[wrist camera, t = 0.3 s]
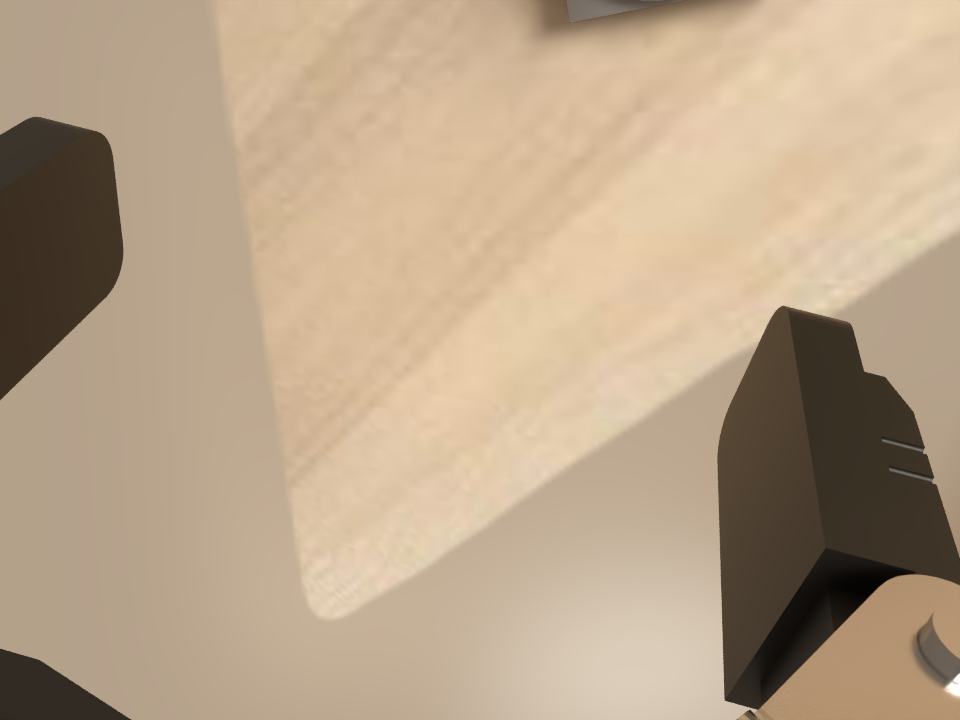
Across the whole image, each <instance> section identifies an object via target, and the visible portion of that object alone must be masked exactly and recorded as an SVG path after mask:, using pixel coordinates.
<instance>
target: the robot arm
mask: <svg viewBox="0 0 960 720" xmlns="http://www.w3.org/2000/svg"><path fill="white" fill-rule="evenodd" d="M122 261H123V240H122V233H121V224H120V215H119V206H118V197H117V189H116V179H115V171H114V162H113V155H112V150H111V147H110V144H109V142H108V140H107V139H106V137H105V136H104V135H102V134H101V133H99V132H97V131H93V130H89V129H85V128H81V127H76V126H72V125H69V124H65V123H61V122H57V121H53V120H49V119H45V118H41V117H32V118H29V119H27V120H25V121H23V122H22V123H20V124H18V125H17V126H15V127H13V128H11V129H10V130H8V131H6V132H5V133H3V134H1V135H0V400H1V399H2V398H3V397H4V396H5V395H6V394H7V393H8V392H9V391H10V390H11V389H12V388H13V387H14V386H15V385H16V384H17V383H18V382H19V381H20V380H21V379H22V378H23V377H24V376H25V375H26V374H28V373H29V372H30V371H31V370H32V368H33V367H35V366H36V365H37V364H38V363H39V362H40V361H41V360H42V359H43V358H44V357H45V356H46V355H47V354H48V353H49V352H50V351H51V350H52V349H53V348H54V347H55V346H56V345H57V344H58V343H59V342H60V341H61V340H62V339H63V338H64V337H65V336H66V335H68V334H69V333H70V332H71V331H72V330H73V329H74V328H75V327H76V326H77V325H78V324H79V323H80V322H81V321H82V320H83V319H84V318H85V317H86V316H87V315H88V314H89V313H90V312H91V311H92V310H93V309H94V308H95V307H96V306H97V305H98V304H99V303H100V302H101V301H103V299H104V298H106V297H107V295H108V294H109V293H110V292H111V290H112V289H113V287H114V285H115V283H116V281H117V279H118V276H119V273H120V270H121V266H122ZM924 448H925V447H924V444H923V441H922V437H921V434H920V431H919V428H918V425H917V422H916V419H915V415H914V413H913V411H912V410H911V408H910V407H909V406H908V405H907V404H906V402H905V401H904V400H903V399H902V397H901V396H900V395H899V394H898V392H897V391H896V390H895V389H894V387H893V386H892V385H891V384H890V383H889V381H888V380H887V379H886V378H885V377H883V376H879V375H875V374H871V373H867V372H864V369H863V366H862V362H861V358H860V354H859V350H858V346H857V342H856V339H855V335H854V331H853V328H852V326H851V324H850V323H848V322H846V321H842V320H838V319H834V318H830V317H826V316H822V315H818V314H814V313H810V312H806V311H802V310H798V309H794V308H790V307H786V306H781V307H780V308H778V309H777V310H776V312H775V313H774V314H773V316H772V318H771V319H770V321H769V323H768V325H767V327H766V329H765V332H764V334H763V336H762V338H761V340H760V342H759V344H758V346H757V349H756V351H755V353H754V355H753V357H752V359H751V361H750V364H749V366H748V368H747V370H746V372H745V374H744V376H743V378H742V381H741V383H740V385H739V387H738V389H737V391H736V393H735V395H734V397H733V399H732V402H731V404H730V406H729V408H728V411H727V414H726V417H725V419H724V423H723V426H722V431H721V435H720V440H719V446H718V491H719V492H718V493H719V525H720V558H721V592H722V624H723V625H722V626H723V659H724V692H725V693H724V694H725V701H728V702H732V703H735V704H739V705H743V706H746V707H750V708H754V709H757V710H758V711H756V712H755V713H753V712H752V711H751V710H749V711H747V712H745V713H744V714H743V715H742V716H740V717H739V718H738V719H737V720H960V558H959V554H958V551H957V548H956V545H955V542H954V538H953V536H952V532H951V529H950V526H949V523H948V520H947V516H946V513H945V510H944V507H943V504H942V501H941V498H940V494H939V491H938V488H937V485H936V484H932V481H933V478H934V475H933V472H932V469H931V466H930V463H929V460H928V456H927V454H923V450H924ZM0 720H131V719H129V718H127V717H126V716H124V715H123V714H121V713H120V712H118V711H117V710H115V709H114V708H112V707H111V706H109V705H107V704H106V703H105V702H103V701H101V700H100V699H98V698H97V697H95V696H94V695H92V694H90V693H89V692H88V691H86V690H84V689H83V688H81V687H80V686H78V685H76V684H75V683H74V682H72V681H70V680H69V679H68V678H66V677H64V676H63V675H61V674H60V673H58V672H57V671H55V670H53V669H52V668H51V667H49V666H48V665H46V664H45V663H43V662H42V661H40V660H37V659H34V658H30V657H27V656H23V655H20V654H16V653H13V652H10V651H6V650H3V649H0Z"/></svg>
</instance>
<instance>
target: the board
mask: <svg viewBox="0 0 960 720" xmlns="http://www.w3.org/2000/svg"><path fill="white" fill-rule="evenodd" d="M679 1H684V0H661V1H643V0H566V3H567V9H568V15H569V21H570V23H571V22H576V21H581V20H586V19H592V18H597V17H602V16H607V15H612V14H617V13H622V12H627V11H633V10H638V9H643V8H648V7H653V6H658V5H663V4H668V3H674V2H679Z"/></svg>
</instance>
